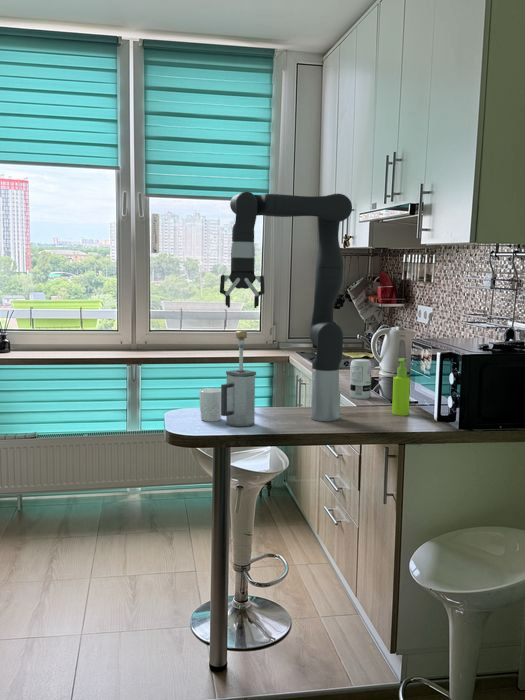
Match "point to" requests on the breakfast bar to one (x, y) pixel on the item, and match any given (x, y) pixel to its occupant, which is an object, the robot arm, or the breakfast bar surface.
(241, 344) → the plunger
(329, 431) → the breakfast bar surface
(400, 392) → the soap dispenser
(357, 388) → the supplement can
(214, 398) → the white cup
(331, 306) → the robot arm
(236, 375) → the carafe
